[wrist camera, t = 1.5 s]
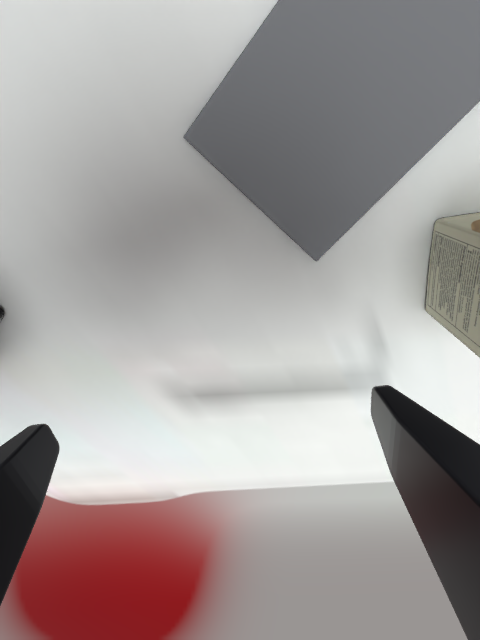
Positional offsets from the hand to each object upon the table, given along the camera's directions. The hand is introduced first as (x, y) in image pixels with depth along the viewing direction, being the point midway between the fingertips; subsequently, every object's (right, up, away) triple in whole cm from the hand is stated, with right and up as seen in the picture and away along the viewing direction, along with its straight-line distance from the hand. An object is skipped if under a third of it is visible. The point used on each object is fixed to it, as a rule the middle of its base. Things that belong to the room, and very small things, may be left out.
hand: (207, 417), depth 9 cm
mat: (+6, +14, +7) cm, 17 cm away
